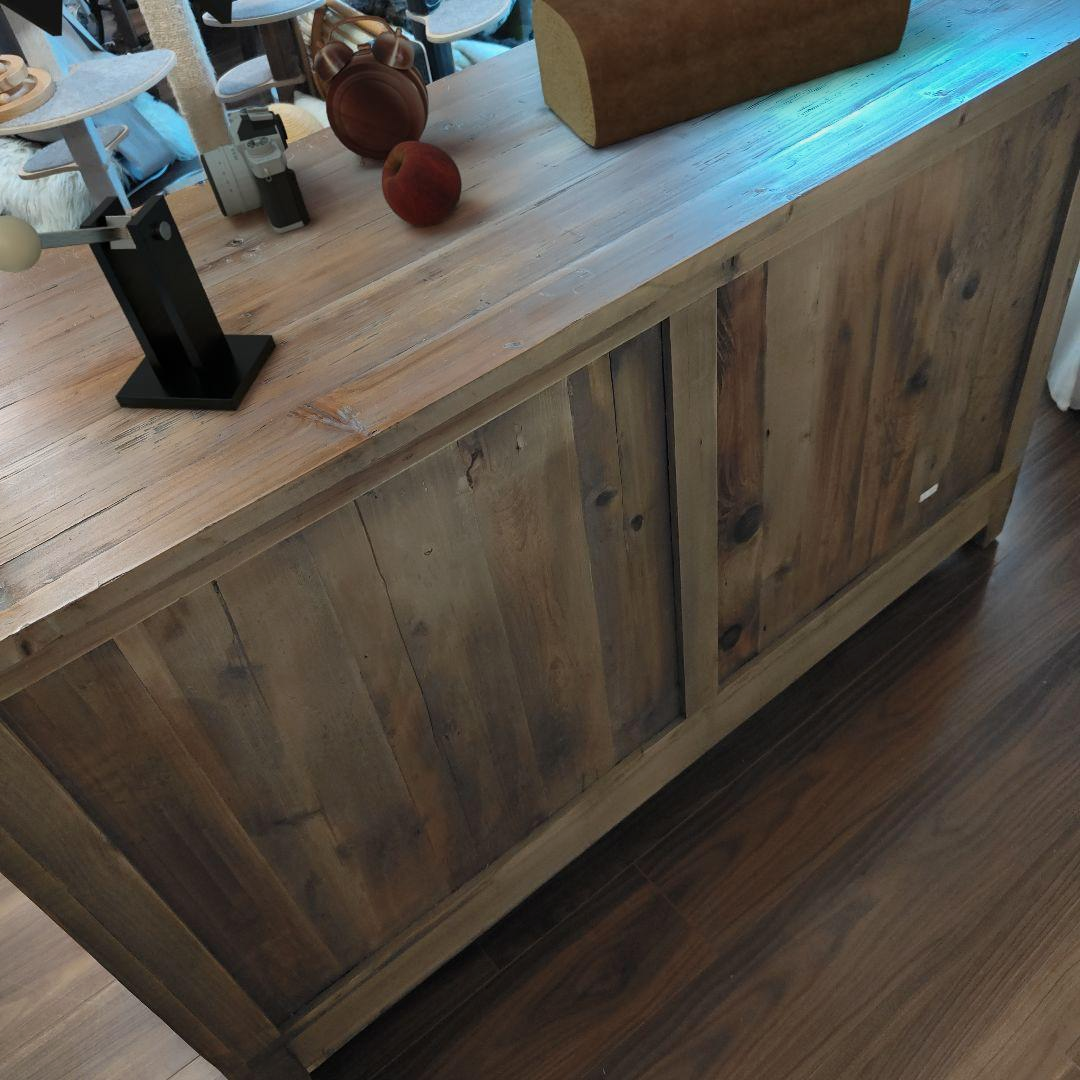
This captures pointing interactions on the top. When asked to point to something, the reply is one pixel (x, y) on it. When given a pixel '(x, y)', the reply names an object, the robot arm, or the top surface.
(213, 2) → the robot arm
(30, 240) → the lever
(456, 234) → the top surface
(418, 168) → the apple
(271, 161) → the camera
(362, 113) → the alarm clock
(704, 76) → the bread
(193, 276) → the lever bracket
